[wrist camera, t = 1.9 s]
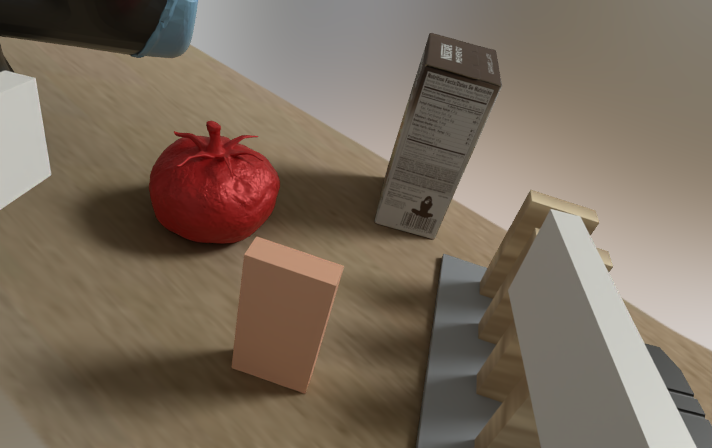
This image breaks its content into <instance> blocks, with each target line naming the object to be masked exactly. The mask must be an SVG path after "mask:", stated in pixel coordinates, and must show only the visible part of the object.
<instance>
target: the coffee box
mask: <svg viewBox="0 0 712 448" xmlns="http://www.w3.org/2000/svg"><path fill="white" fill-rule="evenodd" d="M501 87H502V83H501V78H500V72H499V66H498V61H497V55H496V51H495V50H493V49H488V48H485V47H481V46H477V45H473V44H469V43H466V42H463V41H459V40H456V39H452V38H448V37H444V36H440V35H437V34H433V33H430V34H429V37H428V40H427V44H426V47H425V50H424V53H423V56H422V59H421V62H420V65H419V69H418V72H417V75H416V78H415V81H414V84H413V87H412V91H411V94H410V97H409V100H408V103H407V106H406V110H405V113H404V116H403V119H402V122H401V126H400V129H399V132H398V135H397V139H396V142H395V145H394V148H393V152H392V155H391V158H390V161H389V165H388V168H387V172H386V175H385V179H384V184H383V188H382V192H381V196H380V201H379V205H378V209H377V213H376V217H375V223H377V224H380V225H384V226H387V227H391V228H394V229H398V230H402V231H405V232H409V233H413V234H416V235H420V236H423V237H427V238H430V239H435V237H436V234H437V232H438V230H439V227H440V225H441V223H442V221H443V218H444V216H445V214H446V211H447V209H448V207H449V204H450V202H451V200H452V198H453V195H454V193H455V190H456V188H457V186H458V184H459V182H460V179H461V177H462V175H463V173H464V170H465V168H466V166H467V164H468V161H469V159H470V157H471V155H472V153H473V150H474V148H475V146H476V144H477V142H478V139H479V137H480V135H481V132H482V130H483V128H484V125H485V123H486V121H487V119H488V117H489V114H490V112H491V110H492V107H493V105H494V103H495V101H496V98H497V96H498V94H499V92H500V89H501Z"/></svg>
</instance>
